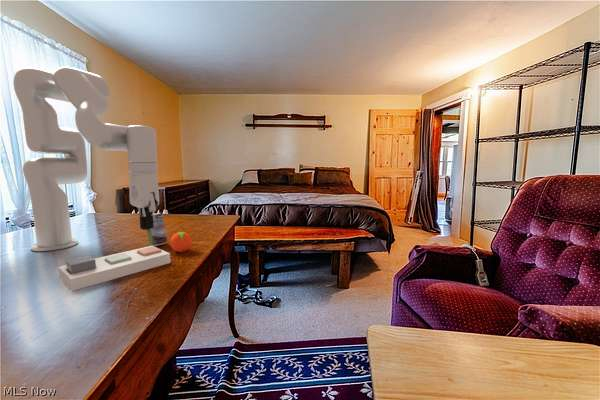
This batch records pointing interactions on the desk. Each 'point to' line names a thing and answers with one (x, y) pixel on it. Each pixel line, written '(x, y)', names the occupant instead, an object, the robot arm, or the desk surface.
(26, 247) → the desk surface
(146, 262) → the panel
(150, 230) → the beverage can
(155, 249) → the terracotta button
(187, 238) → the clementine
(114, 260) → the sage button
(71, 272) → the charcoal button
